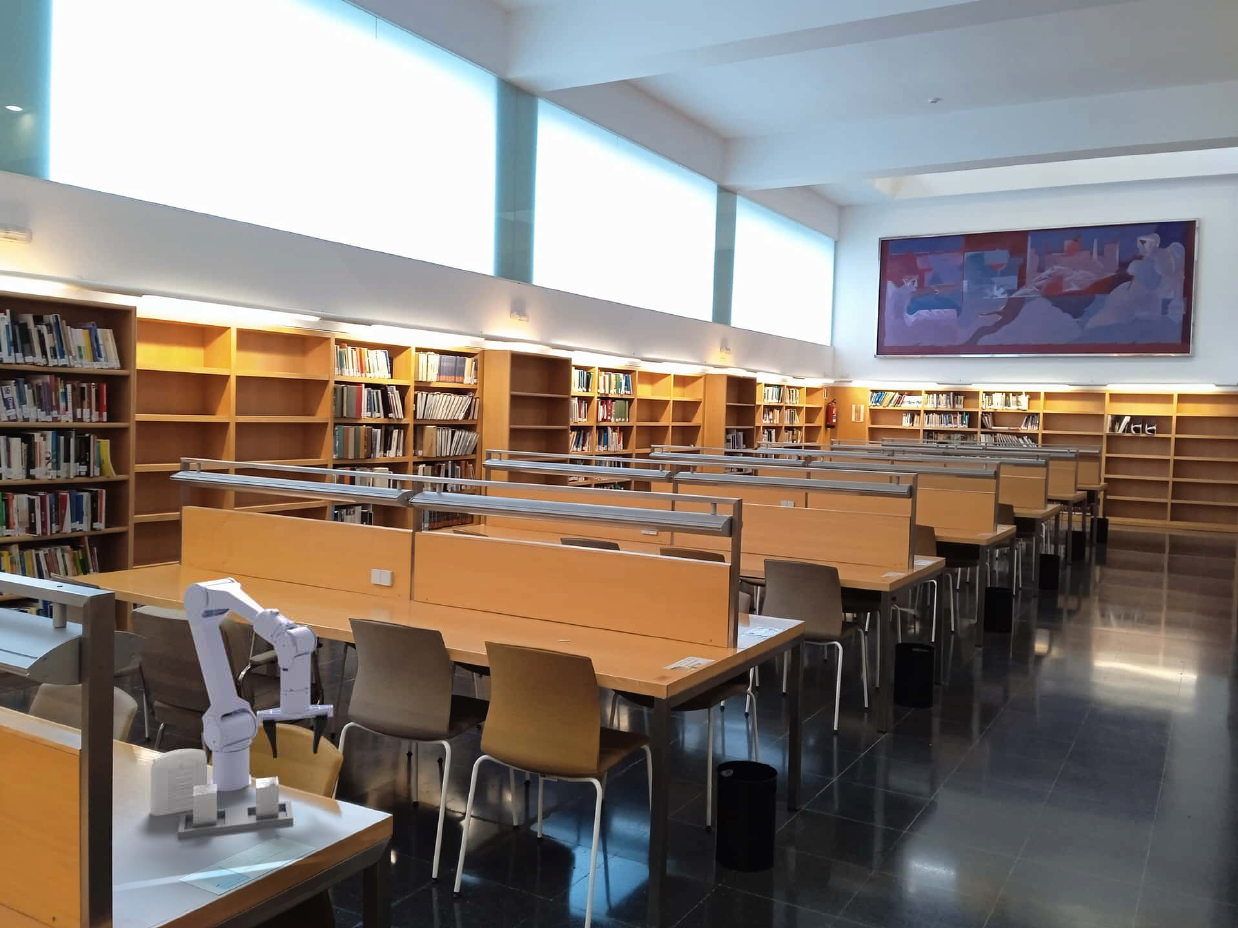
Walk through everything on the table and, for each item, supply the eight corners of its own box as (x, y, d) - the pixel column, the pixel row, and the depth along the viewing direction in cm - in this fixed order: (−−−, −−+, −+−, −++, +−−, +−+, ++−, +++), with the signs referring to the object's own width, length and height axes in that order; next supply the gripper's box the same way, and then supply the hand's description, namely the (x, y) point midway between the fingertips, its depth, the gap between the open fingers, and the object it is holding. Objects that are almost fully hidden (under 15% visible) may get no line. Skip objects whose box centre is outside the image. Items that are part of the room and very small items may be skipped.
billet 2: (255, 814, 189) (255, 778, 189) (277, 811, 190) (277, 776, 190) (256, 824, 184) (256, 787, 184) (278, 821, 186) (278, 785, 185)
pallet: (180, 824, 186) (180, 813, 186) (290, 810, 193) (290, 800, 193) (177, 842, 177) (177, 832, 177) (293, 827, 185) (293, 817, 185)
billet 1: (194, 822, 185) (194, 785, 184) (216, 819, 186) (216, 783, 186) (193, 832, 180) (193, 795, 180) (216, 829, 182) (216, 792, 181)
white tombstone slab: (204, 803, 196) (204, 742, 196) (209, 810, 193) (209, 748, 192) (148, 813, 190) (148, 751, 190) (152, 821, 187) (152, 757, 186)
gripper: (257, 695, 188) (257, 764, 189) (334, 689, 194) (334, 756, 194) (256, 686, 195) (256, 753, 196) (331, 680, 200) (331, 745, 201)
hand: (295, 754), depth 195 cm, fingers open, 7 cm apart
